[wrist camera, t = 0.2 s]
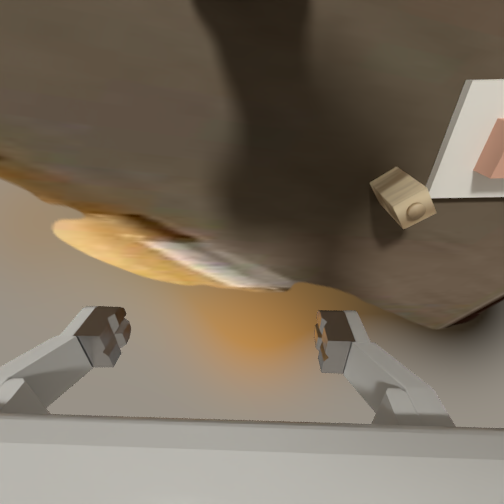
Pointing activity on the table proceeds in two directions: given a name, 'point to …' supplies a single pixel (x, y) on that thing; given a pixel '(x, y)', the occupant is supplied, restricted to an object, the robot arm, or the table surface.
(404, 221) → the maple brick
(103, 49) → the table surface
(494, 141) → the terracotta brick
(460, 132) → the baseplate
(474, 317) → the table surface
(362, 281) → the table surface
